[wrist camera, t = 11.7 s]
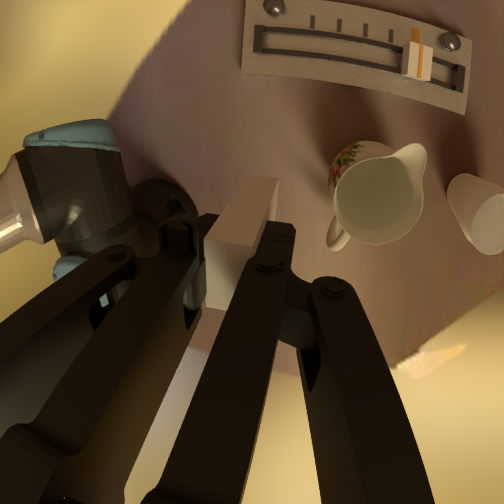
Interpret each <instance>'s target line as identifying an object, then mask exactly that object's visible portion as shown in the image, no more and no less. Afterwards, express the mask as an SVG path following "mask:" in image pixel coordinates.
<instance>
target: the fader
mask: <svg viewBox="0 0 504 504" xmlns="http://www.w3.org/2000/svg"><path fill="white" fill-rule="evenodd" d="M432 55H433V48H431V47H428V46H425V45H423V44H418V43H415V42H411V41H409V42H407V43H405V44H404V45H403V54H402V55H400V66H399V67H401V68H402V69H401V75H403V76H407V77H411V78H414V79H418V80H421V81H430V77H431V67H432Z"/></svg>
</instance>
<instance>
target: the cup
mask: <svg viewBox="0 0 504 504" xmlns="http://www.w3.org/2000/svg"><path fill="white" fill-rule="evenodd" d="M447 200H448V203H449V205H450V207H451V209H452V211H453V213H454V214H455V216H456V218H457V220H458V222H459V224H460V226H461V228H462V230H463V232H464V234H465V236H466V237H467V239H468V240H469V241H470V242H471V243H472V244H473V245H474V246H475V247H476V249H477V250H478V251H480V252H481V253H483V254H486V255H495V254H498V253H501V252H502V251H504V189H503V188H501V187H500V186H498V185H495V184H493V183H491V182H488V181H486V180H484V179H481V178H479V177H476V176H474V175H471V174H468V173H462V174H459V175H457V176H455V177H454V178H453V179H452V180H451V182H450V183H449V186H448V189H447Z"/></svg>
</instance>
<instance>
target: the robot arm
mask: <svg viewBox="0 0 504 504" xmlns="http://www.w3.org/2000/svg"><path fill="white" fill-rule="evenodd" d="M23 148H25V149H24V150H21V151H19V152H17V153H15V154H13V155H11V158H10V160H9V162H8V164H7V166H6V168H5V170H4V172H3V173H1V174H0V254H1V253H3V252H5V251H7V250H8V249H10V248H12V247H14V246H15V245H17V244H19V243H21V242H22V241H24V240H31V241H33V242H36V243H38V244H41V245H43V244H45V243H47V242H49V241H50V240H52V239H54V240H55V242H56V245H57V247H58V250H59V252H60V255H61V257H60V258H59V259H58V260H57V261H56V264H55V266H54V268H53V272H54V273H53V279H54V283H53V284H51V285H50V286H49V287H47V288H46V289H45V290H43V291H42V292H40V293H39V294H38V295H36V296H35V297H34V298H32V299H31V300H30V301H28V302H27V303H26V304H25V305H23V306H22V307H20V308H19V309H18V310H17V311H15V312H14V313H13V314H11V315H10V316H9V317H8V318H6V319H5V320H4V321H3V322H1V323H0V504H124V502H125V498H124V488H125V485H126V482H127V480H128V478H129V475H130V473H131V470H132V468H133V466H134V464H135V461H136V459H137V457H138V455H139V452H140V450H141V448H142V445H143V443H144V441H145V439H146V436H147V434H148V432H149V430H150V427H151V425H152V423H153V421H154V418H155V416H156V414H157V412H158V410H159V407H160V405H161V403H162V401H163V398H164V396H165V394H166V392H167V390H168V387H169V385H170V383H171V381H172V379H173V376H174V374H175V372H176V370H177V368H178V365H179V363H180V361H181V359H182V357H183V355H184V353H185V350H186V348H187V346H188V344H189V342H190V340H191V337H192V335H193V333H194V331H195V329H196V327H197V325H198V322H199V320H200V318H201V315H202V302H203V300H204V298H205V296H206V307H210V308H215V309H220V310H226V311H227V312H226V314H225V317H224V319H223V322H222V324H221V327H220V329H219V332H218V334H217V337H216V339H215V342H214V344H213V347H212V349H211V352H210V354H209V357H208V359H207V362H206V365H205V367H204V370H203V372H202V375H201V377H200V380H199V382H198V385H197V387H196V390H195V392H194V395H193V397H192V400H191V403H190V405H189V408H188V410H187V413H186V415H185V418H184V420H183V423H182V425H181V428H180V430H179V433H178V435H177V438H176V441H175V443H174V446H173V448H172V451H171V453H170V456H169V458H168V461H167V464H166V466H165V469H164V471H163V474H162V476H161V478H160V481H159V483H158V484H157V486H156V487H155V488H154V489H152V490H151V491H150V492H148V493H147V494H146V496H145V497H144V498H143V500H142V501H141V503H140V504H241V503H242V499H243V495H244V491H245V487H246V483H247V479H248V475H249V471H250V467H251V463H252V459H253V454H254V450H255V446H256V442H257V437H258V433H259V428H260V424H261V419H262V415H263V410H264V406H265V401H266V396H267V392H268V387H269V382H270V377H271V372H272V368H273V363H274V358H275V353H276V347H277V344H278V340H280V341H282V342H284V343H287V344H289V345H291V346H293V347H296V348H297V349H296V354H297V359H298V365H299V370H300V376H301V381H302V387H303V392H304V398H305V404H306V409H307V415H308V421H309V427H310V433H311V439H312V445H313V451H314V457H315V463H316V470H317V476H318V483H319V489H320V496H321V503H322V504H435V502H434V498H433V495H432V492H431V488H430V484H429V481H428V478H427V474H426V471H425V468H424V464H423V461H422V458H421V455H420V452H419V449H418V446H417V443H416V440H415V437H414V434H413V431H412V428H411V425H410V422H409V420H408V417H407V414H406V411H405V409H404V406H403V403H402V401H401V398H400V395H399V393H398V390H397V387H396V385H395V382H394V380H393V377H392V375H391V372H390V370H389V367H388V365H387V362H386V360H385V357H384V355H383V353H382V350H381V348H380V345H379V343H378V341H377V338H376V336H375V334H374V331H373V329H372V327H371V325H370V322H369V320H368V318H367V316H366V313H365V311H364V309H363V307H362V304H361V302H360V300H359V298H358V296H357V294H356V291H355V290H354V288H353V287H352V286H351V284H349V283H348V282H346V281H345V280H343V279H340V278H337V277H331V276H325V277H319V278H317V279H315V280H314V281H313V282H312V283H309V282H306V281H304V280H302V279H300V278H299V277H297V276H296V275H295V274H294V273H293V272H292V270H291V262H292V255H293V248H294V242H295V235H296V229H295V228H294V226H293V225H292V224H290V223H283V222H276V221H275V214H276V204H277V193H278V183H279V179H275V178H267V177H259V176H250V175H248V176H247V178H246V179H245V181H244V182H243V183H242V185H241V186H240V188H239V189H238V190H237V192H236V193H235V195H234V196H233V197H232V199H231V200H230V202H229V203H228V204H227V206H226V207H225V209H224V210H223V212H222V213H221V214H220V215H217V214H209V213H206V214H204V215H202V216H200V217H199V216H198V212H197V210H196V207H195V205H194V204H193V202H192V200H191V199H190V198H189V196H188V195H187V194H186V193H185V192H184V191H183V190H182V189H180V188H179V187H178V186H176V185H174V184H172V183H170V182H168V181H164V180H160V179H150V180H145V181H143V182H141V183H139V184H137V185H136V186H134V187H133V188H131V189H130V190H129V187H128V184H127V180H126V176H125V172H124V168H123V163H122V159H121V155H120V152H121V149H120V148H119V147H118V144H117V141H116V137H115V134H114V130H113V127H112V125H111V124H110V123H109V122H108V121H106V120H103V119H89V120H82V121H76V122H71V123H66V124H62V125H58V126H54V127H50V128H47V129H46V130H41V131H38V132H34V133H31V134H29V135H27V136H26V137H25V138H24V141H23ZM64 497H65V499H64Z"/></svg>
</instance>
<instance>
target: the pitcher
mask: <svg viewBox="0 0 504 504" xmlns="http://www.w3.org/2000/svg"><path fill="white" fill-rule="evenodd" d="M426 160H427V153H426V150H425V148H424V147H423V145H421V144H419V143H410V144H407V145H405V146H403V147H402V148H400V149H398V150H397V151H395V150H393V149H392V148H390V147H388V146H386V145H384V144H382V143H379V142H374V141H360V142H356V143H353V144H351V145H349V146H347V147H345V148H344V149H343V150H342V151H341V152H340V153H339V154H338V155H337V156H336V158H335V159H334V161H333V163H332V165H331V168H330V172H329V178H328V188H329V194H330V197H331V200H332V203H333V207H334V213H335V216H334V218H333V220H332V222H331V224H330V227H329V229H328V233H327V238H326V243H327V246H328V248H329V249H330V250H332V251H338V250H340V249H341V248H342V247H343V246H344V245H345V244H346V243H347V241H348V240H349V238H350V236H351V237H353V238H354V239H356V240H358V241H361V242H363V243H367V244H386V243H390V242H393V241H395V240H397V239H399V238H401V237H403V236H404V235H405V234H407V233H408V232H409V231H410V230H411V229H412V228H413V226H414V225H415V224H416V222H417V220H418V219H419V217H420V214H421V211H422V208H423V189H422V176H423V173H424V170H425V165H426ZM339 226H341V227H342V228H343V229H342V231H341V233H340V234H339V236H338V237H337V238H336V235H337V231H338V229H339Z"/></svg>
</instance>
